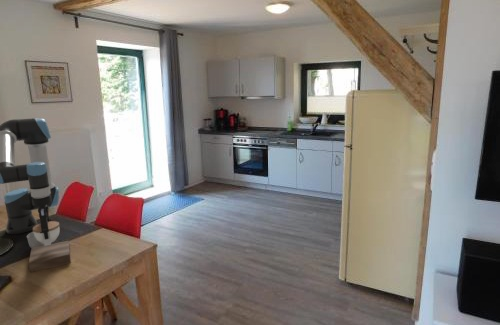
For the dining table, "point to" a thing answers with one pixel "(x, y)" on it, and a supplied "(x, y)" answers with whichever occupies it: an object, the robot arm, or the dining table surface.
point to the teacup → (33, 241)
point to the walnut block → (49, 256)
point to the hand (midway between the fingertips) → (48, 239)
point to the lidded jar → (53, 230)
